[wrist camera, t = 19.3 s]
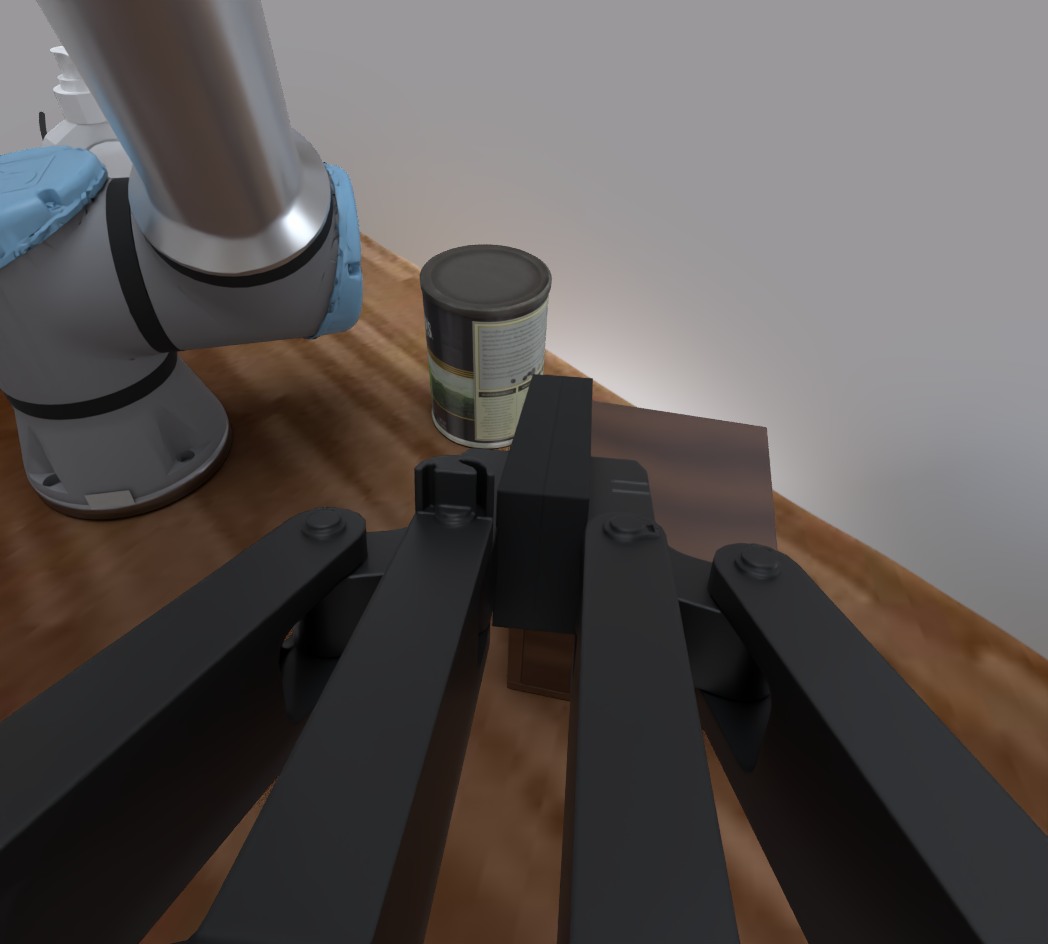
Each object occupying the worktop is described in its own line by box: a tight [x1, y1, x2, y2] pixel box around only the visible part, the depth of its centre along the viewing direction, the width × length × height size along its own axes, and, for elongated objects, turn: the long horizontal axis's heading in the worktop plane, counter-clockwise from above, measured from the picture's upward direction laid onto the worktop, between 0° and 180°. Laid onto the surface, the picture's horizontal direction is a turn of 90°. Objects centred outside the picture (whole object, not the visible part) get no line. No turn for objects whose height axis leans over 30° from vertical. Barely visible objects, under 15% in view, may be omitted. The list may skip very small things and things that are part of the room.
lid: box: [591, 401, 778, 562], centre depth 40 cm, size 18×14×1 cm
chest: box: [507, 628, 704, 729], centre depth 44 cm, size 17×14×9 cm
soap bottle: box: [41, 46, 133, 178], centre depth 64 cm, size 13×8×24 cm, turn 127°
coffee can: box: [420, 245, 552, 449], centre depth 56 cm, size 10×10×14 cm
